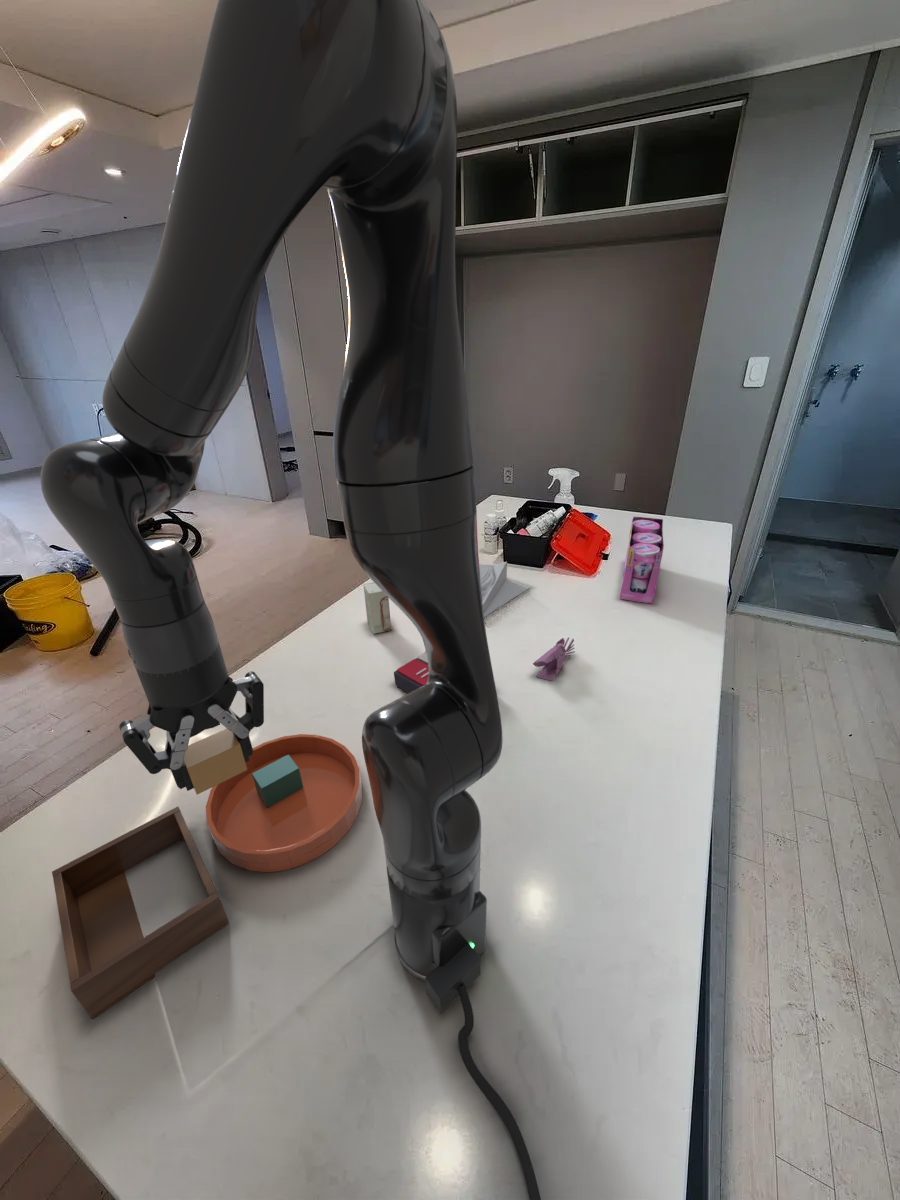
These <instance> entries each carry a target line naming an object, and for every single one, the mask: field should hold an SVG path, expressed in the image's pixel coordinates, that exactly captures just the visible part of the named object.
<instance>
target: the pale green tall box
mask: <svg viewBox="0 0 900 1200" xmlns="http://www.w3.org/2000/svg"><path fill="white" fill-rule="evenodd" d="M363 593H364V603H365V611H366V622H367V626H368V628H369V629H370V631H371V633H372V634H373V635H375V634H380V633H384V632H389V631H392V621H391V611H390V599H389V598H388V596H387V595H386V594H385V593H384V592H383V591H382V590H381V589H380V588H379V587H378V586H377V585H376V584H375V583H374V582H369V583H364V584H363Z"/></svg>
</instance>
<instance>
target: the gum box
mask: <svg viewBox="0 0 900 1200" xmlns="http://www.w3.org/2000/svg"><path fill="white" fill-rule="evenodd" d="M664 548H665V543H664V519H663V518H654V517H643V516H632V519H631V524H630V529H629V534H628V540H627V545H626V553H625V558H624V564H623V571H622V577H621V578H622V580H621V586H620V592H619V593H620V594H619V599H620V600H625V601H631V602H639V603H645V604H651V605H652V604H654V600H655V594H656V591H657V590H656V589H657V585H658V579H659V573H660V569H661V565H662V560H663V553H664Z"/></svg>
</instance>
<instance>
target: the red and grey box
mask: <svg viewBox="0 0 900 1200" xmlns="http://www.w3.org/2000/svg"><path fill="white" fill-rule="evenodd" d="M393 677H394V678H393V679H394V685H395V687H397V688H399V689H401V690H403V691H404V692H406V693H407V694H408V693H410V692H412V691H414V690H416V689H418V688H420V687H422V686H424V685H425V684H426V683H427V681H428V677H429V667H428V659H427V654H426V651H425V652H423V653H421V654H420V655H418V656H417V657H416V658H414V659H412V660H410V661H408V662H406V663H405V664H402V666H400V667H398V668H397V669H396V670H394V671H393Z"/></svg>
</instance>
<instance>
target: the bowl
mask: <svg viewBox="0 0 900 1200" xmlns="http://www.w3.org/2000/svg"><path fill="white" fill-rule="evenodd" d="M252 748H253V754H252V755H251V756H249V760H250V761H248V762H246V767H247V770H246V771H244V772H242V773H240V774H238V775H236V776H234V777H232V778H230V779H228V780H226V781H224V782H222V783H220V784H218V785H216V786H214V787H212V788H210V791H209V793H208V798H207V801H206V803H205V804H206V805H205V818H206V825H207V827H208V831H209V832H210V835H211V837H212V840H213V842H214V844H215V847H216V848H217V850H218V853H219V854H220V855H221V856H222V857H224V858H225V859H226V860H227V861H228V862H229V863H231V864H232V865H234V866H236V867H239V868H241V869H244V870H247V871H252V872H259V873H275V872H280V871H287V870H290V869H294V868H297V867H300V866H303V865H305V864H307V863H310V862H312V861H314V860H316V859H317V858H319V857H321V856H322V855H324V854H325V853H326V852H328V851H329V850H331V849H332V848H334V847H335V845H336V844H338V843H339V842H340V841H341V840H342V839H343V838H344V837H345V835H346V834H347V833H348V832H349V830H350V829H351V827H352V826H353V824H354V822H355V820H356V819H357V817H358V815H359V812H360V808H361V805H362V802H363V788H362V779H361V771H360V768H359V767H360V766H359V765H358V762H357V760H356V757H355V756H354V754H353V753H352V752H351V750H349V748H348V747H346V746H345V745H344V744H342V743H340V742H339V741H337V740H335V739H333V738H330V737H326V736H322V735H319V734H306V733H298V734H292V735H291V734H290V735H285V736H284V735H283V736H281V737H277V738H274V739H270V740H266V741H265V742H262V743H260V744H258V745H256V746H255V747H252ZM286 755H289V756H290V757H291V758H292V760H293V761H294V762H295V764H296V765H297V766H298V768H299V771H300V775H301V779H302V784H303V788H302V789H300V790H298V791H297V792H295V793H293V794H291V795H290V796H288V797H286V798H284V799H283V800H281V801H279V802H277V803H276V804H274V805H272V806H270V807H269V808H266V806H265V804H264V803H263V801H262V800H261V798H260V796H259V795H258V793H257V790H256V787H255V783H254V780H253V776H252V773H254V772H256V771H258V770H260V769H262V768H264V767H265V766H267V765H269V764H271V763H273V762H275V761H277V760H279V759H281V758H283V757H285V756H286Z"/></svg>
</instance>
